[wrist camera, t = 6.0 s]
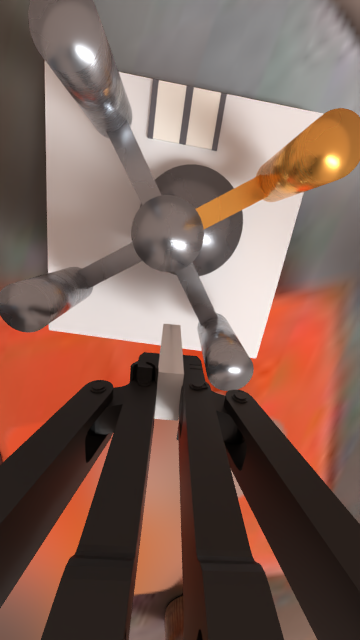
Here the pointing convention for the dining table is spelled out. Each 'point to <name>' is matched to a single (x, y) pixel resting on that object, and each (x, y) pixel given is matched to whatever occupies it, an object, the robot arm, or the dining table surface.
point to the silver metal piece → (167, 192)
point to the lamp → (174, 619)
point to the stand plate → (123, 203)
